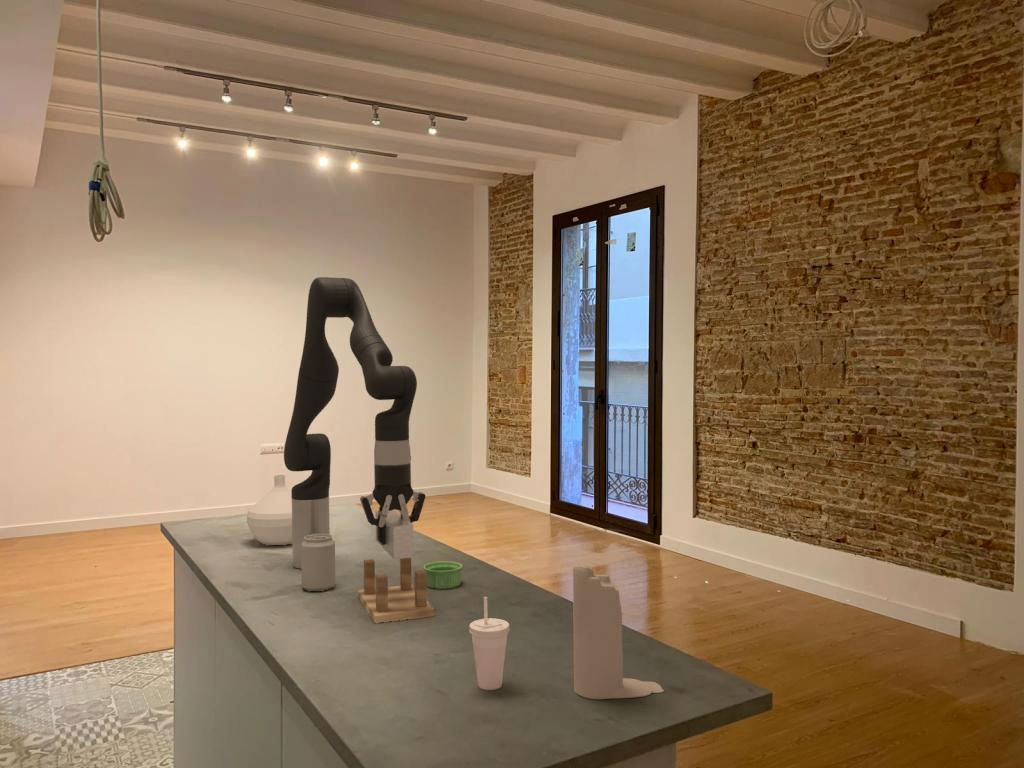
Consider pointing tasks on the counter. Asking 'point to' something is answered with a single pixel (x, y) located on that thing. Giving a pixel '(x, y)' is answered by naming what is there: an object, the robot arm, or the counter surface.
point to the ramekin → (443, 574)
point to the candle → (600, 640)
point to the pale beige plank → (397, 536)
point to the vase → (273, 515)
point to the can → (318, 562)
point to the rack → (395, 594)
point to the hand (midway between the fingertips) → (393, 542)
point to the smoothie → (489, 649)
